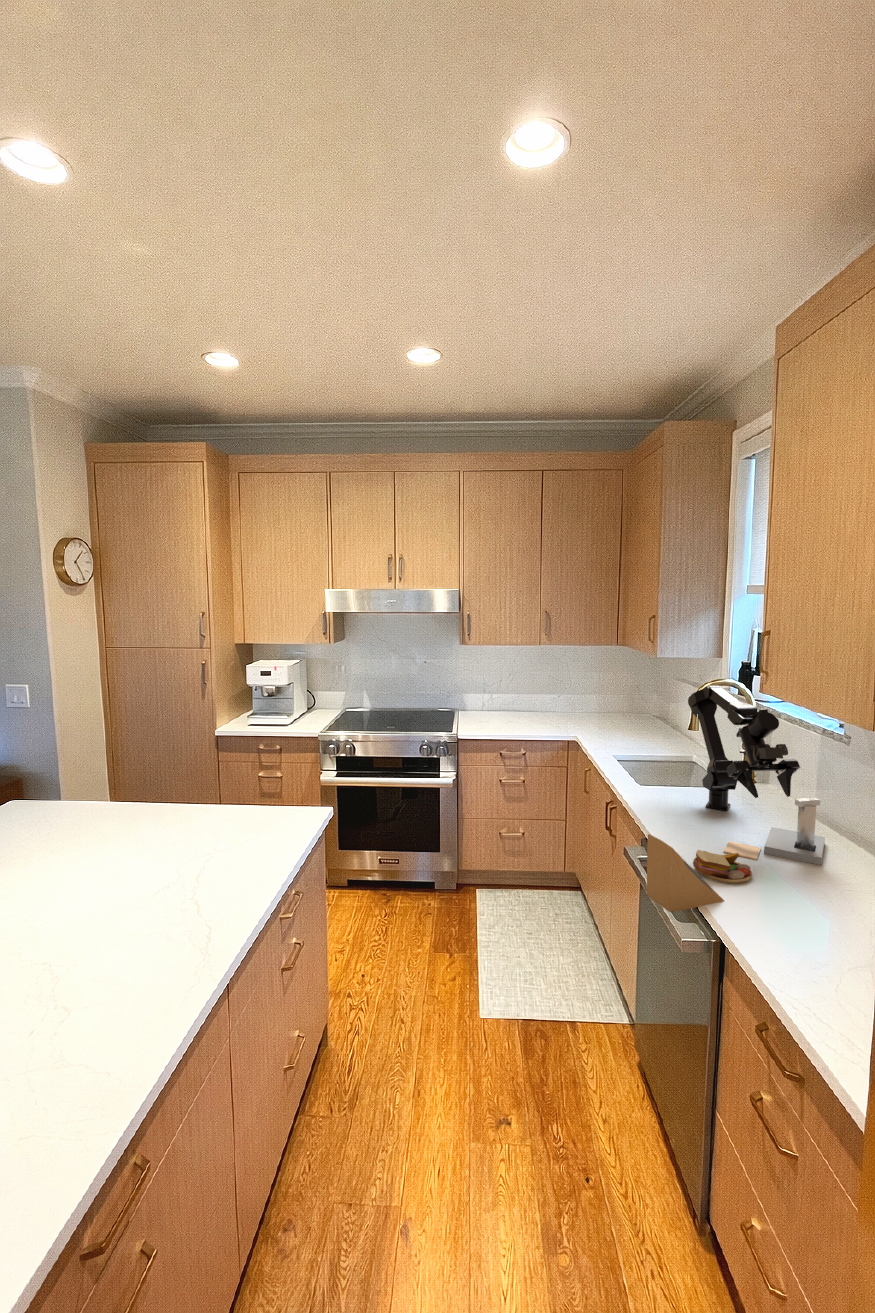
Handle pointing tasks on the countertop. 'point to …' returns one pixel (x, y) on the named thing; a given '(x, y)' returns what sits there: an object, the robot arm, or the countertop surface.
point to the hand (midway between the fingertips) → (772, 797)
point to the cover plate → (793, 846)
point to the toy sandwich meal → (721, 867)
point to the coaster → (742, 850)
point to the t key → (806, 823)
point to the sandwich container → (674, 879)
